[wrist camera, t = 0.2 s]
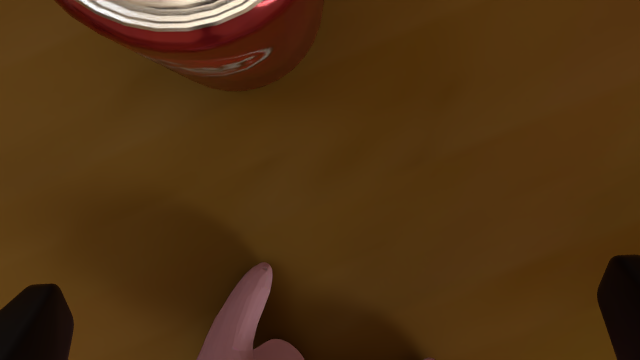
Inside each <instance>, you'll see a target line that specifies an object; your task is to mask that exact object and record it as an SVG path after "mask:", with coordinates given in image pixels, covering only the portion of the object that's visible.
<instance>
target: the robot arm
mask: <svg viewBox="0 0 640 360" xmlns="http://www.w3.org/2000/svg"><path fill="white" fill-rule="evenodd" d="M597 298H598V303H599V307H600V310H601V313H602V316H603V319H604V321H605V324H606V327H607V330H608V333H609V336H610V339H611V342H612V345H613V348H614V351H615V354H616V357H617V360H640V255H618V256H614V257H613V258H612V259H610V261H609V263H608V266H607V268H606V270H605V273H604V275H603V278H602V280H601V282H600V285H599V287H598V292H597ZM73 328H74V322H73V316H72V314H71V311H70V309H69V307H68V305H67V303H66V300H65V298H64V296H63V294H62V291H61V289H60V288H59V287H58V286H57V285H56V284H36V285H30V286H28V287H27V288H25V289H24V290H23V291H22V292H21V293H19V294H18V295H17V296H16V297H15V298H14V299H13V300H11V301H10V302H9V303H8V304H7V305H6V306H5V307H4V308H2V309H1V310H0V360H68V356H69V350H70V345H71V340H72V335H73Z"/></svg>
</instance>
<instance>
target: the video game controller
mask: <svg viewBox="0 0 640 360" xmlns="http://www.w3.org/2000/svg"><path fill="white" fill-rule="evenodd" d="M271 283H272V269H271V266H270V265H269V264H268V263H266V262H263V263H260V264H258V265H256V266H254V267H253V268H251V269H250V270H249V271H248V272H247V273H246V274H245V275H244V276H243V278H242V279H241V280H240V281H239V282H238V284H237V285H236V287H235V288H234V289H233V291H232V292H231V293H230V295H229V297H228V298H227V300H226V302H225V304H224V305H223V307H222V309H221V310H220V312H219V313H218V315H217V316H216V318H215V320H214V322H213V324H212V326H211V328H210V330H209V332H208V334H207V336H206V339H205V342H204V344H203V346H202V349H201V351H200V353H199V356H198V358H197V360H304V358H303V356H302V355H301V354H300V352H299V351H298V350H297V349H296V348H295V347H294V346H292V345H291V344H290V343H288V342H286V341H284V340H281V339H271V340H269V341H267V342H265V343H263V344H262V345H261V346H259V347H257V348H255V349H253V340H254V336H255V332H256V328H257V325H258V322H259V319H260V317H261V314H262V312H263V309H264V306H265V304H266V301H267V299H268V296H269V294H270V289H271ZM424 360H435V359H434V358H426V359H424Z"/></svg>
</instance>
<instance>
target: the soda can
mask: <svg viewBox="0 0 640 360" xmlns="http://www.w3.org/2000/svg"><path fill="white" fill-rule="evenodd" d="M54 1H55V2H56V3H58V4H59V5H60V6H61V7H62V8H63V9H64V10H65V11H66V12H67V13H68V14H69V15H70V16H72V17H73V18H75V19H76V20H78V21H79V22H81V23H83V24H84V25H86V26H87V27H89V28H90V29H92V30H93V31H95V32H97V33H98V34H100V35H102V36H104V37H106V38H108V39H110V40H112V41H114V42H116V43H118V44H120V45H122V46H124V47H126V48H128V49H130V50H132V51H134V52H136V53H138V54H140V55H142V56H144V57H146V58H148V59H150V60H152V61H154V62H156V63H158V64H160V65H162V66H164V67H166V68H168V69H170V70H172V71H174V72H176V73H178V74H180V75H182V76H184V77H186V78H188V79H190V80H192V81H194V82H197V83H199V84H202V85H204V86H207V87H209V88H214V89H219V90H225V91H246V90H251V89H255V88H260V87H263V86H265V85H268V84H270V83H272V82H275V81H277V80H279V79H280V78H282V77H283V76H284V75H286V74H287V73H289V72H290V71H291V70H293V69H294V68H295V66H296V65H297V64H298V63H299V62H300V61H301V60H302V59H303V58H304V57H305V55H306V54H307V52H308V51H309V49H310V47H311V46H312V44H313V43H314V40H315V37H316V35H317V32H318V30H319V27H320V23H321V17H322V11H323V5H324V0H54Z"/></svg>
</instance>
